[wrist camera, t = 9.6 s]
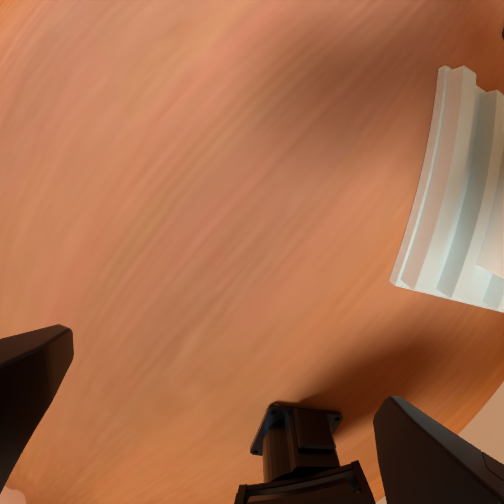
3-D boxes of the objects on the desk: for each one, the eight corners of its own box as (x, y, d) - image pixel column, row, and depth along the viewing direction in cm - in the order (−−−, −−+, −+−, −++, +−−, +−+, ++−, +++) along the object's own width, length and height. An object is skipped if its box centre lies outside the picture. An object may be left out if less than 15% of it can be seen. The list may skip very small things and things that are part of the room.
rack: (501, 309, 20) (521, 322, 17) (388, 280, 19) (408, 297, 16) (541, 146, 16) (563, 147, 14) (438, 68, 15) (461, 57, 13)
